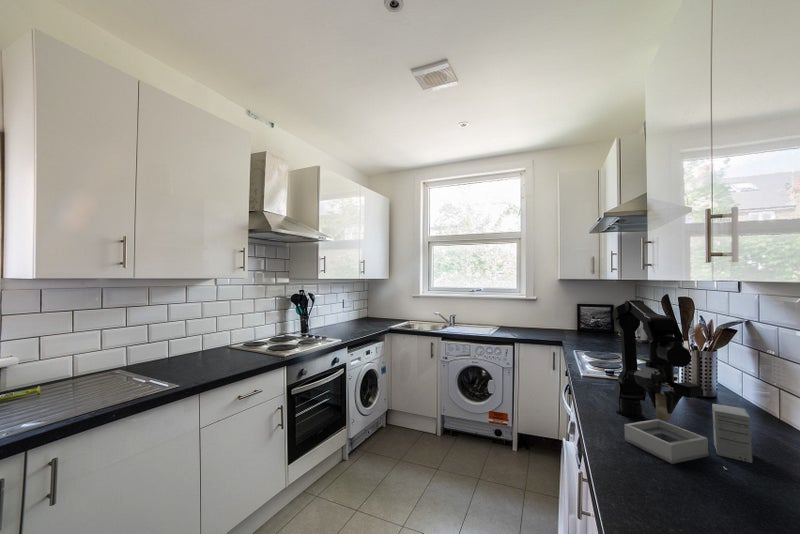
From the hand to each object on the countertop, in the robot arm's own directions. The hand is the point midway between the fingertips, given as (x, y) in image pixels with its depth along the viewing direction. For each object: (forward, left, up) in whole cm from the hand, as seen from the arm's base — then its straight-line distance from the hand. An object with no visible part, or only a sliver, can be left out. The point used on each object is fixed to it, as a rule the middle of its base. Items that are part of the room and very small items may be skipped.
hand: (663, 411), depth 101 cm
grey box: (0, 0, -11) cm, 11 cm away
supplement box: (+8, +15, -11) cm, 20 cm away
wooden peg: (0, 0, -2) cm, 2 cm away
